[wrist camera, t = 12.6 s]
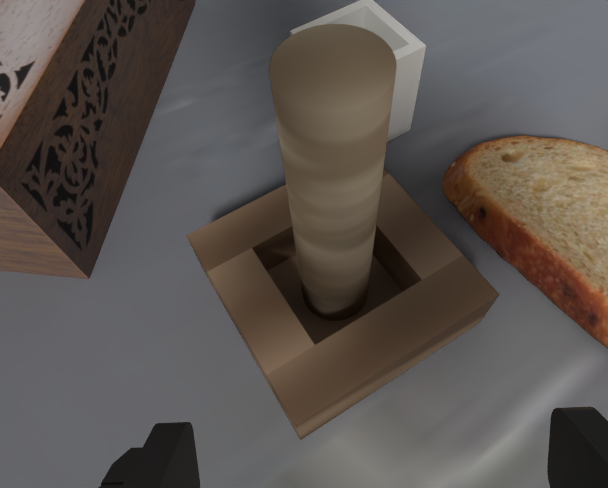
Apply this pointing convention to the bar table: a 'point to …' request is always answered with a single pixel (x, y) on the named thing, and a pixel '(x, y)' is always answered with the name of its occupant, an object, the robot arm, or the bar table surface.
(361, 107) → the dowel
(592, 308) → the bread slice
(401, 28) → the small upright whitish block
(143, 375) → the bar table surface
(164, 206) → the bar table surface
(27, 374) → the bar table surface
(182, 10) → the tissue box cover
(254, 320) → the socket block
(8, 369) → the bar table surface
